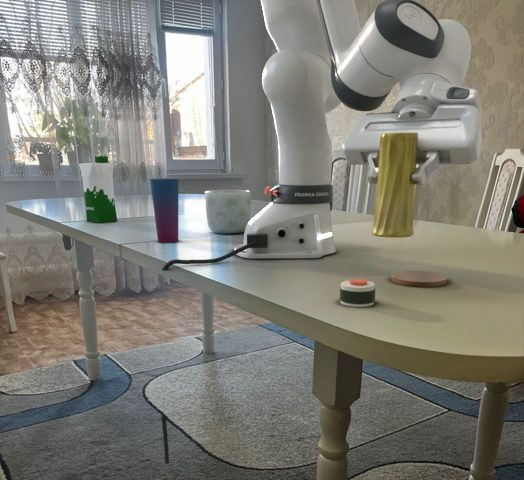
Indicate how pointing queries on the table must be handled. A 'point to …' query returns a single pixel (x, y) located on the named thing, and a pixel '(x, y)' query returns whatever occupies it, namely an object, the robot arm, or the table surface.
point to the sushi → (357, 293)
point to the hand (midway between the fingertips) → (394, 181)
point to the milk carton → (99, 190)
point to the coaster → (419, 278)
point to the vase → (395, 185)
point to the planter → (228, 210)
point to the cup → (165, 208)
